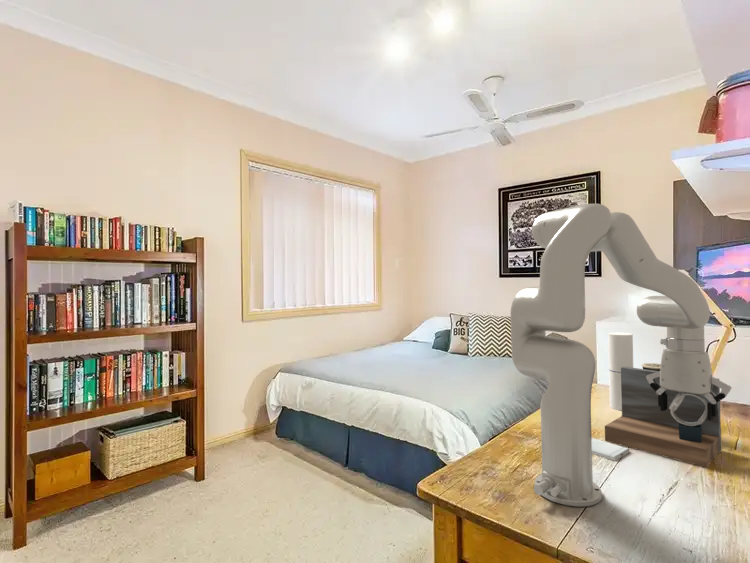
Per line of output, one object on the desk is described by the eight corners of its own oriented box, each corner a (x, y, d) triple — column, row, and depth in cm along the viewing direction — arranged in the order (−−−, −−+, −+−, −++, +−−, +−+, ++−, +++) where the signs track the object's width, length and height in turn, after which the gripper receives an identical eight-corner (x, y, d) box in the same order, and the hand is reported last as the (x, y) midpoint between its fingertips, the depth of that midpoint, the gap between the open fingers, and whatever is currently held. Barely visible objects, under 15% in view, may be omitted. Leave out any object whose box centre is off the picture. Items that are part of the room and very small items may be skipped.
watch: (671, 431, 108) (668, 388, 108) (711, 436, 103) (708, 391, 103) (669, 437, 104) (666, 393, 104) (711, 443, 99) (707, 397, 99)
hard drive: (564, 441, 110) (614, 456, 100) (580, 434, 115) (629, 447, 105) (565, 447, 110) (614, 463, 100) (581, 440, 115) (629, 454, 105)
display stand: (706, 467, 96) (704, 388, 96) (605, 440, 113) (603, 374, 113) (721, 450, 105) (719, 378, 105) (625, 428, 122) (623, 366, 122)
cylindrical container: (605, 405, 144) (603, 332, 144) (624, 404, 145) (622, 332, 145) (619, 411, 137) (617, 335, 137) (639, 410, 138) (637, 334, 138)
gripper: (640, 343, 108) (641, 409, 108) (726, 351, 95) (728, 426, 95) (650, 340, 113) (652, 404, 113) (733, 347, 100) (735, 419, 99)
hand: (686, 414), depth 104 cm, fingers open, 9 cm apart
